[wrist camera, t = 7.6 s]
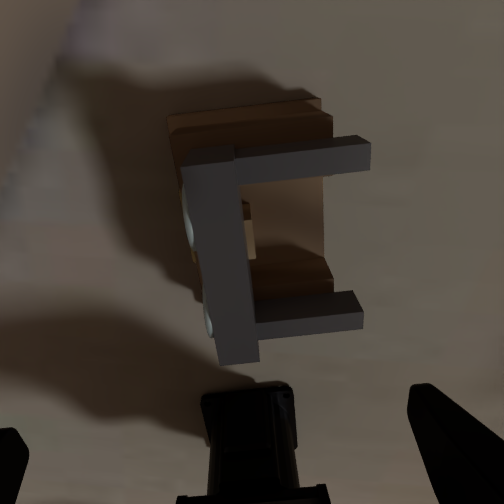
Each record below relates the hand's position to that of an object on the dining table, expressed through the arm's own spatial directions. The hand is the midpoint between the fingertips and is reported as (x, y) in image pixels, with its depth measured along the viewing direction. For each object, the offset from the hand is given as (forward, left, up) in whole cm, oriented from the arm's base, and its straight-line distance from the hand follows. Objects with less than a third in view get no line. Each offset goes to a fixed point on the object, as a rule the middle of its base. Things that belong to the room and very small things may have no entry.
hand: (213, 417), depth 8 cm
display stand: (0, -1, -13) cm, 13 cm away
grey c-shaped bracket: (0, -2, -10) cm, 10 cm away
